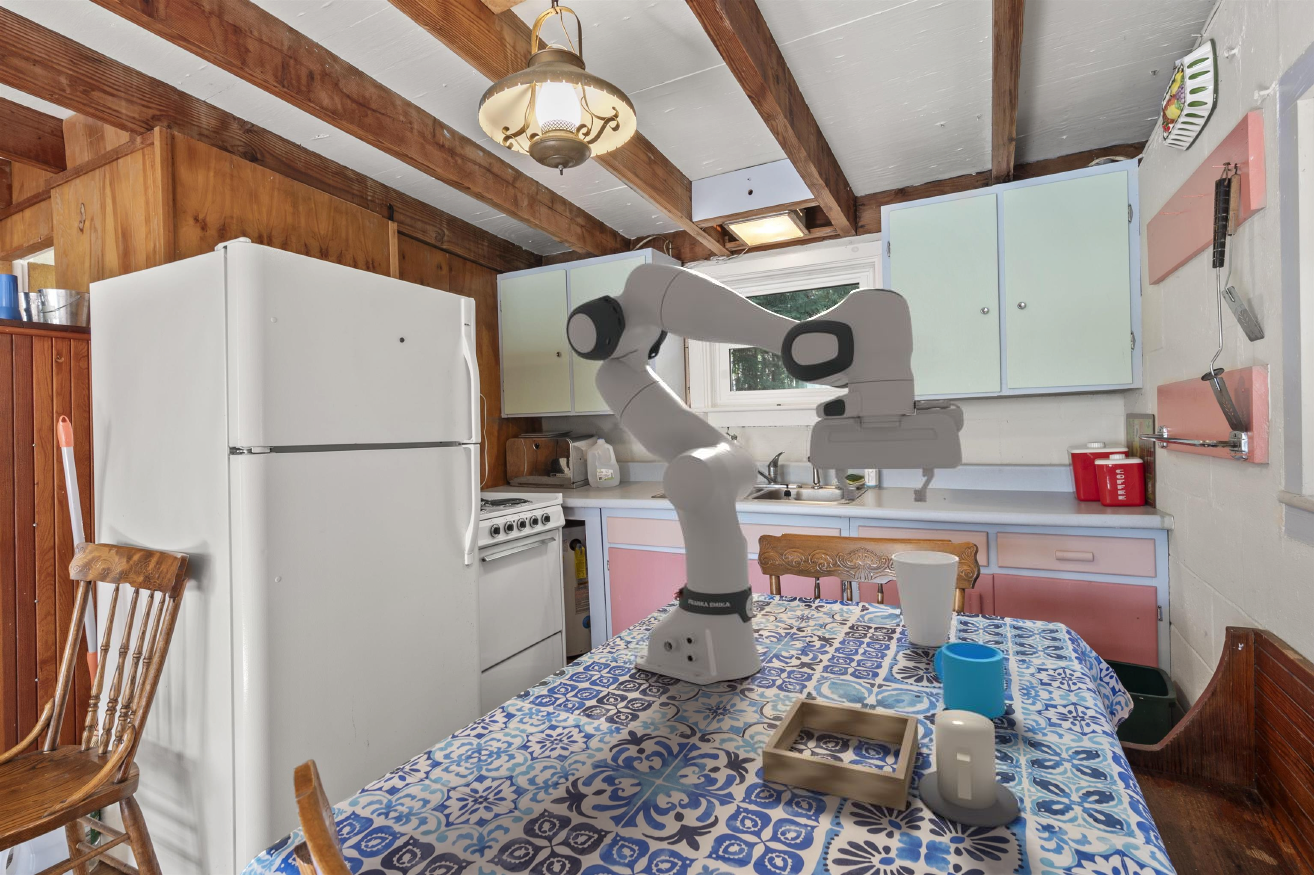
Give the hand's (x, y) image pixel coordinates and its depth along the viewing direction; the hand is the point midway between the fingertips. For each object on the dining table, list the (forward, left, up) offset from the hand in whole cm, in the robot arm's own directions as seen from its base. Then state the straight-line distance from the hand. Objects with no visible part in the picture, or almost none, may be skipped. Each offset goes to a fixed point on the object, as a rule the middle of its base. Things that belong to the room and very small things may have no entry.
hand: (884, 501), depth 90 cm
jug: (+10, -18, -30) cm, 37 cm away
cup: (+2, +36, -31) cm, 48 cm away
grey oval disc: (+10, -17, -31) cm, 37 cm away
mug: (+9, +10, -31) cm, 34 cm away
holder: (-4, -14, -31) cm, 34 cm away
